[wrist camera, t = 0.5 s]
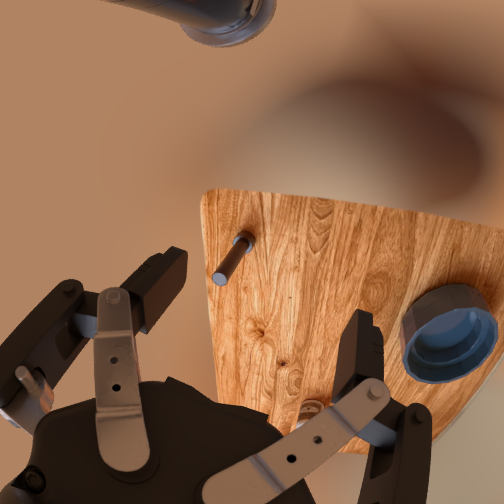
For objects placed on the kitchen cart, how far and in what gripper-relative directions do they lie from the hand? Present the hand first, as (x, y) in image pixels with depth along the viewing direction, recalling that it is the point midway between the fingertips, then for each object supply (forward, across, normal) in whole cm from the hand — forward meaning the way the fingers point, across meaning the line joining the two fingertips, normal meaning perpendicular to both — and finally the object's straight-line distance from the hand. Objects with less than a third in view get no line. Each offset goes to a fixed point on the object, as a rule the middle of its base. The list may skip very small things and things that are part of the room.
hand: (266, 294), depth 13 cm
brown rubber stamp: (+21, +6, +11) cm, 24 cm away
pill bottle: (+20, -13, +39) cm, 46 cm away
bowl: (+21, -24, +13) cm, 34 cm away
